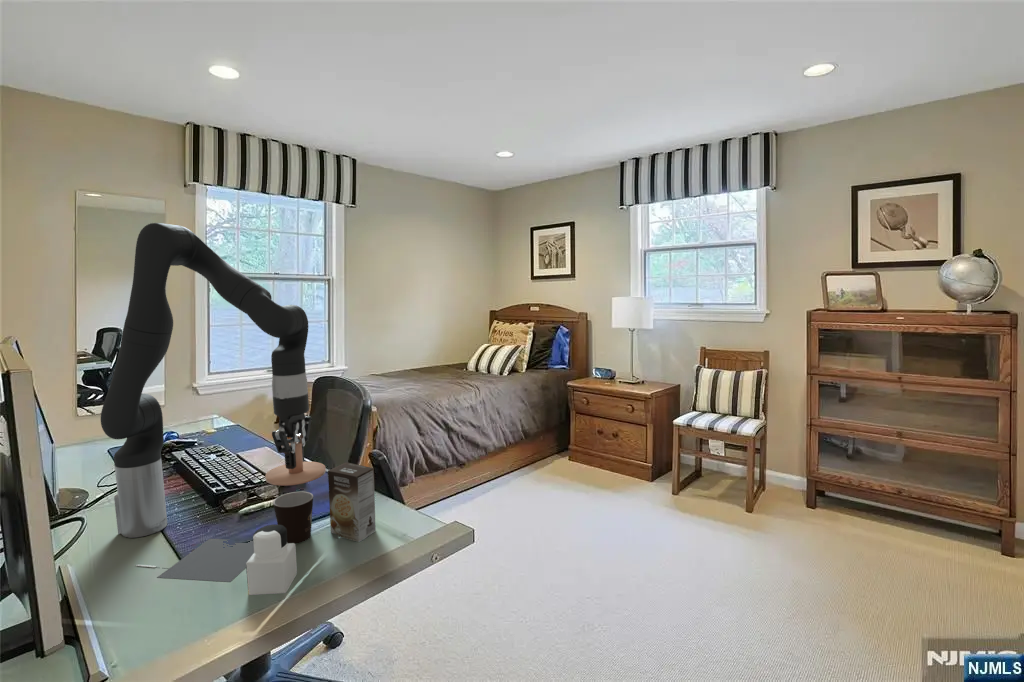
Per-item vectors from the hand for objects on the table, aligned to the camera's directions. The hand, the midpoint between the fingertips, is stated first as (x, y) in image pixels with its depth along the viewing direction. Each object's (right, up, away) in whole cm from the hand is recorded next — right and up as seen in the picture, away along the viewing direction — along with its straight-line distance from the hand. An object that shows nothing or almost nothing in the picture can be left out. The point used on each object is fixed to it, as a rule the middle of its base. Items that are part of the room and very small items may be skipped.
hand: (295, 464), depth 123 cm
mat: (-13, -19, -8) cm, 24 cm away
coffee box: (+12, -17, +4) cm, 22 cm away
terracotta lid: (0, -2, 0) cm, 2 cm away
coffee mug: (0, -18, +2) cm, 18 cm away
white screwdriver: (-21, -20, -12) cm, 32 cm away
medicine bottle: (+3, -20, -18) cm, 27 cm away
